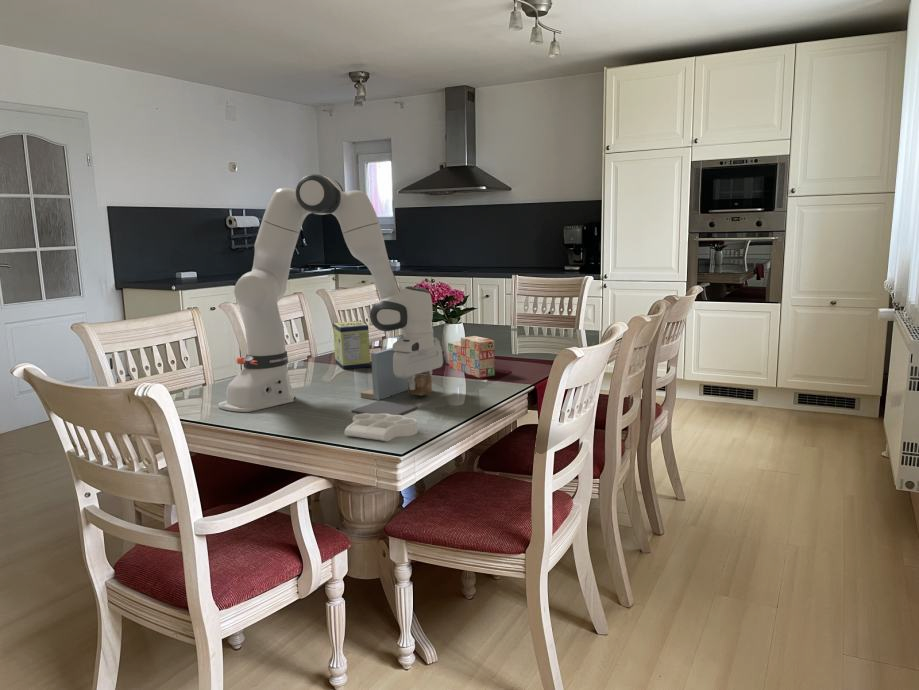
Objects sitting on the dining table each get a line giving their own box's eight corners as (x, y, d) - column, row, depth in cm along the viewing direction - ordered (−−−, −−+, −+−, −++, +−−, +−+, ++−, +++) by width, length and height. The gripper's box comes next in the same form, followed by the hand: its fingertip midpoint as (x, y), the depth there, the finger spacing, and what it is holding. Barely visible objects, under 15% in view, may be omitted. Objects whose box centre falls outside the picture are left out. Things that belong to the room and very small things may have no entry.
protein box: (361, 359, 262) (359, 320, 260) (371, 367, 248) (368, 325, 245) (334, 362, 259) (332, 322, 256) (343, 370, 244) (340, 327, 242)
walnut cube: (421, 395, 198) (421, 378, 197) (408, 393, 200) (407, 376, 200) (431, 391, 202) (431, 375, 201) (418, 389, 205) (418, 373, 204)
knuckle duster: (334, 437, 165) (368, 421, 178) (396, 446, 157) (427, 429, 170) (333, 424, 165) (367, 409, 178) (395, 432, 157) (426, 416, 170)
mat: (390, 418, 179) (390, 416, 179) (351, 412, 186) (351, 410, 186) (418, 408, 189) (417, 406, 188) (379, 402, 196) (379, 400, 196)
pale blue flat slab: (378, 400, 199) (376, 353, 196) (360, 397, 203) (358, 351, 200) (415, 387, 214) (413, 343, 211) (398, 385, 217) (396, 342, 215)
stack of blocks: (448, 367, 243) (447, 334, 241) (463, 365, 246) (462, 332, 244) (479, 378, 225) (478, 341, 222) (495, 375, 228) (494, 339, 226)
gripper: (430, 335, 209) (431, 379, 211) (388, 346, 192) (390, 393, 194) (447, 337, 205) (448, 381, 208) (406, 347, 188) (407, 395, 191)
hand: (419, 387), depth 201 cm, fingers closed on walnut cube, 5 cm apart
